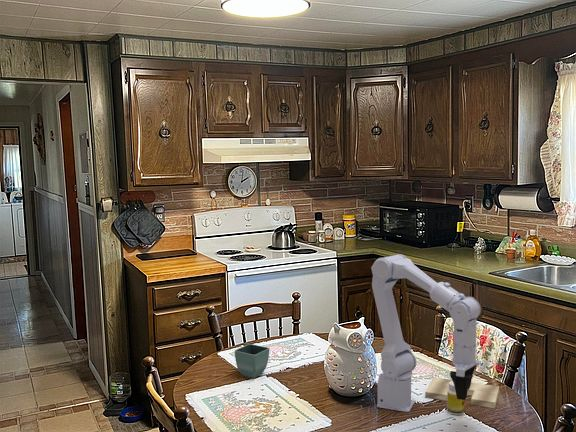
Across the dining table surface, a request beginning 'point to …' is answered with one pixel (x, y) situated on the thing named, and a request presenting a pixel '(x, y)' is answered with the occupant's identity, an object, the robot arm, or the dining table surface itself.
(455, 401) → the supplement bottle
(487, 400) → the notched board
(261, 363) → the flower pot
